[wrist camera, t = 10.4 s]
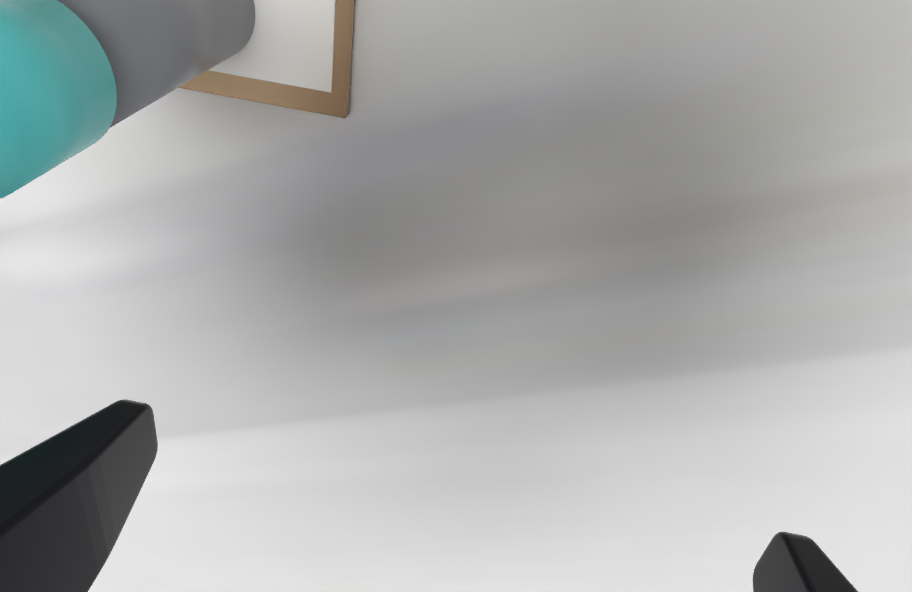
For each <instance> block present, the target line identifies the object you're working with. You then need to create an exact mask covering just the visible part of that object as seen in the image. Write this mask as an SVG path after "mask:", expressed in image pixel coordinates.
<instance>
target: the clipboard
mask: <svg viewBox="0 0 912 592" xmlns="http://www.w3.org/2000/svg"><path fill="white" fill-rule="evenodd" d="M354 2H355V0H254V5H255V25H254V30H253V33H252V35H251V38H250V40H249V41H248V43H247V44H246V45H245V46H244V48H243V49H242V50H240V51H239V52H238V53H236V54H234V55H233V56H231V57H229V58H228V59H226V60H224V61H222V62H221V63H219V64H217V65H216V66H214V67H212V68H211V69H209V70H207V71H205V72H204V73H202V74H200V75H199V76H197V77H195V78H194V79H192V80H190V81H188V82H187V83H185V84H183V85H182V86H180V87H179V88H184V89H189V90H195V91H200V92H206V93H211V94H217V95H222V96H227V97H233V98H238V99H244V100H249V101H255V102H260V103H266V104H271V105H276V106H282V107H287V108H293V109H298V110H304V111H309V112H315V113H320V114H325V115H331V116H336V117H342V118H345V117H346V116H347V115H348V114H349V96H350V78H351V59H352V40H353V21H354Z"/></svg>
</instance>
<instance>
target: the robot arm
mask: <svg viewBox="0 0 912 592" xmlns="http://www.w3.org/2000/svg"><path fill="white" fill-rule="evenodd" d="M157 447H158V444H157V436H156V429H155V422H154V415H153V410H152V408H151V407H150V406H149V405H148V404H146V403H141V402H136V401H131V400H120V401H117V402H115V403H113V404H111V405H109V406H107V407H106V408H104V409H102V410H100V411H98V412H97V413H95V414H93V415H91V416H89V417H87V418H86V419H84V420H82V421H80V422H78V423H76V424H75V425H73V426H71V427H69V428H67V429H65V430H64V431H62V432H60V433H58V434H56V435H54V436H53V437H51V438H49V439H47V440H45V441H43V442H42V443H40V444H38V445H36V446H34V447H32V448H31V449H29V450H27V451H25V452H23V453H22V454H20V455H18V456H16V457H14V458H12V459H11V460H9V461H7V462H5V463H3V464H1V465H0V592H88V590H89V589H90V587H91V585H92V584H93V582H94V580H95V579H96V577H97V575H98V574H99V572H100V570H101V569H102V567H103V565H104V564H105V562H106V560H107V558H108V557H109V555H110V553H111V551H112V549H113V547H114V545H115V543H116V541H117V539H118V537H119V534H120V532H121V530H122V528H123V526H124V524H125V522H126V520H127V517H128V515H129V513H130V511H131V509H132V507H133V505H134V503H135V500H136V498H137V496H138V494H139V492H140V490H141V488H142V486H143V483H144V481H145V479H146V477H147V475H148V473H149V471H150V469H151V466H152V464H153V462H154V460H155V457H156V454H157ZM753 591H754V592H858V591H857V590H856V589H855V588H854V587H853V585H852V584H851V583H850V582H849V581H848V580H847V579H846V577H845V576H844V575H843V574H842V573H841V572H840V571H839V569H838V568H837V567H836V566H835V565H834V564H833V562H832V561H831V560H830V559H829V558H828V557H827V556H826V554H825V553H824V552H823V551H822V550H821V549H820V548H819V546H818V545H817V544H816V543H815V542H814V541H813V540H812V539H810V538H808V537H806V536H802V535H797V534H792V533H787V532H779V533H777V534H776V535H775V536H774V537H773V539H772V540H771V542H770V543H769V545H768V547H767V548H766V550H765V551H764V553H763V555H762V556H761V558H760V559H759V561H758V563H757V564H756V567H755V569H754V574H753Z"/></svg>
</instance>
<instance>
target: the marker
mask: <svg viewBox="0 0 912 592" xmlns="http://www.w3.org/2000/svg"><path fill="white" fill-rule="evenodd" d="M254 25H255V5H254V0H0V198H3V197H5V196H7V195H9V194H11V193H13V192H14V191H16V190H18V189H19V188H21V187H23V186H24V185H26V184H28V183H29V182H31V181H33V180H34V179H36V178H38V177H39V176H41V175H43V174H44V173H46V172H48V171H49V170H51V169H53V168H54V167H56V166H58V165H59V164H61V163H62V162H64V161H66V160H67V159H69V158H71V157H72V156H74V155H76V154H77V153H79V152H81V151H82V150H84V149H86V148H87V147H89V146H91V145H92V144H94V143H96V142H97V141H98V140H99V139H101V138H102V137H103V136H104V134H105V133H106V132H107V131H108V129H109V128H110V127H112V126H113V125H115V124H117V123H119V122H120V121H122V120H124V119H125V118H127V117H129V116H130V115H132V114H134V113H136V112H137V111H139V110H141V109H142V108H144V107H146V106H148V105H149V104H151V103H153V102H154V101H156V100H158V99H159V98H161V97H163V96H165V95H166V94H168V93H170V92H171V91H173V90H175V89H176V88H178V87H180V86H182V85H183V84H185V83H187V82H188V81H190V80H192V79H194V78H195V77H197V76H199V75H200V74H202V73H204V72H205V71H207V70H209V69H211V68H212V67H214V66H216V65H217V64H219V63H221V62H222V61H224V60H226V59H228V58H229V57H231V56H233V55H234V54H236V53H238V52H239V51H240V50H242V49H243V48H244V46H245V45H246V44H247V43H248V41H249V40H250V38H251V35H252V33H253V30H254Z"/></svg>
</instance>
